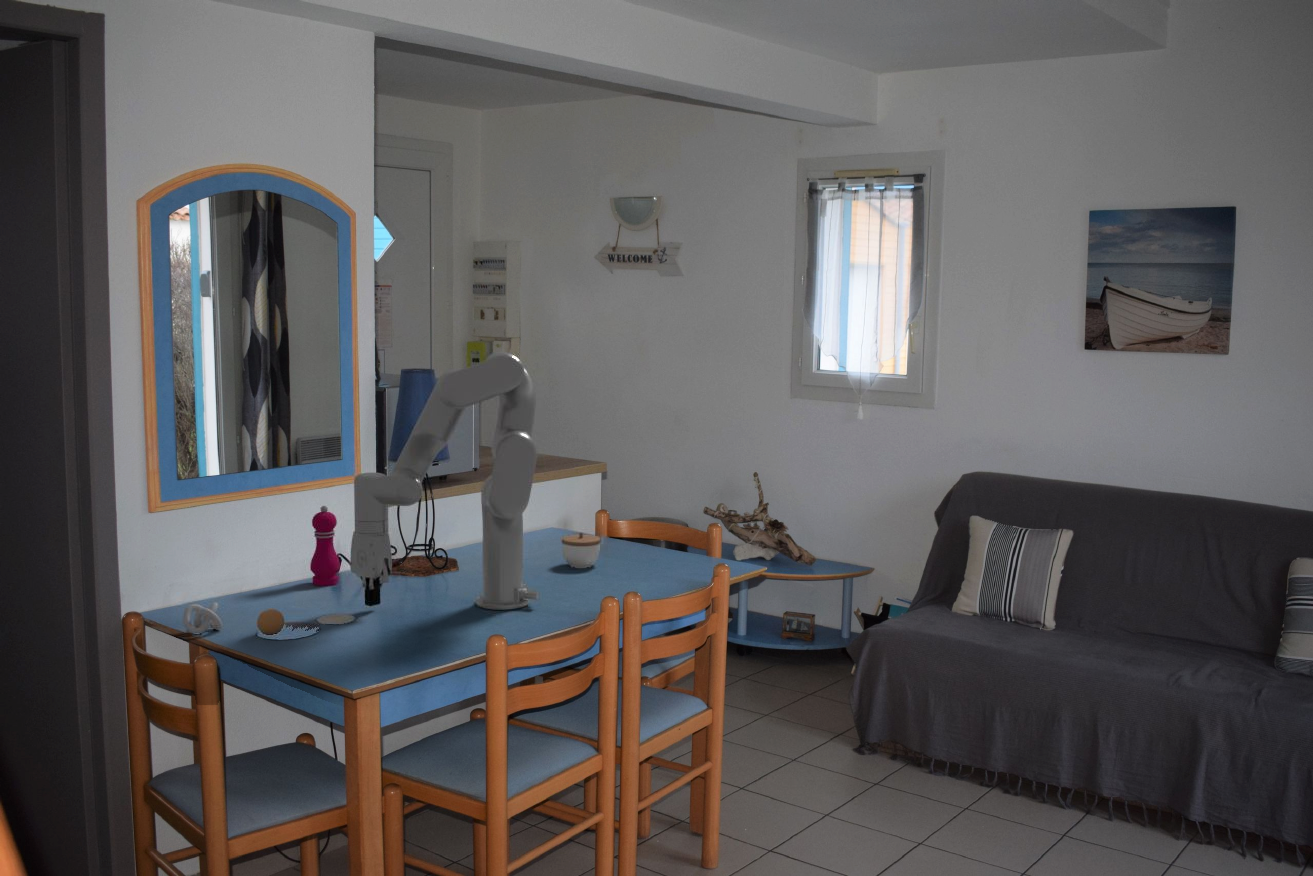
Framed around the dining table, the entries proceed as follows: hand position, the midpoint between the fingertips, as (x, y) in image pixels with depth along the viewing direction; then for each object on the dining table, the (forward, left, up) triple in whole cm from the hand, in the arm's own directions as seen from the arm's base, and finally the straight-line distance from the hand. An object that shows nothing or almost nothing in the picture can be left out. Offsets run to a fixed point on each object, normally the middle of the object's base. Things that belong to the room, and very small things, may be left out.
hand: (372, 604), depth 252 cm
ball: (+12, +23, +1) cm, 26 cm away
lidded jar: (-32, -58, -2) cm, 66 cm away
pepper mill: (+24, -20, -2) cm, 31 cm away
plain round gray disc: (+4, +9, -2) cm, 10 cm away
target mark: (+9, +20, -2) cm, 22 cm away
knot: (+27, +24, -2) cm, 36 cm away
